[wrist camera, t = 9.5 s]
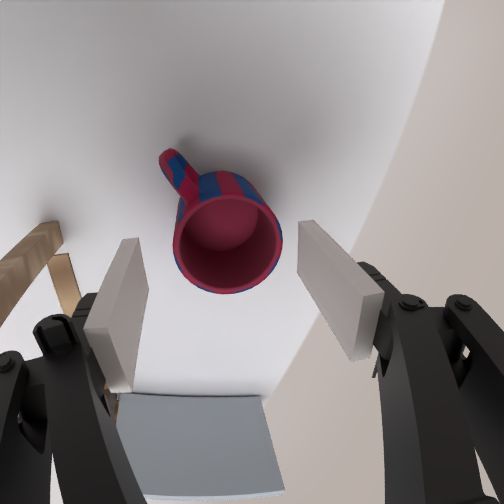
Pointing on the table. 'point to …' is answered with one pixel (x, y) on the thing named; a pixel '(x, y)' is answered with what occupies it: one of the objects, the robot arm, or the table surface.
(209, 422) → the door
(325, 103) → the table surface
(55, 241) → the doorframe
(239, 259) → the mug
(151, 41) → the table surface
